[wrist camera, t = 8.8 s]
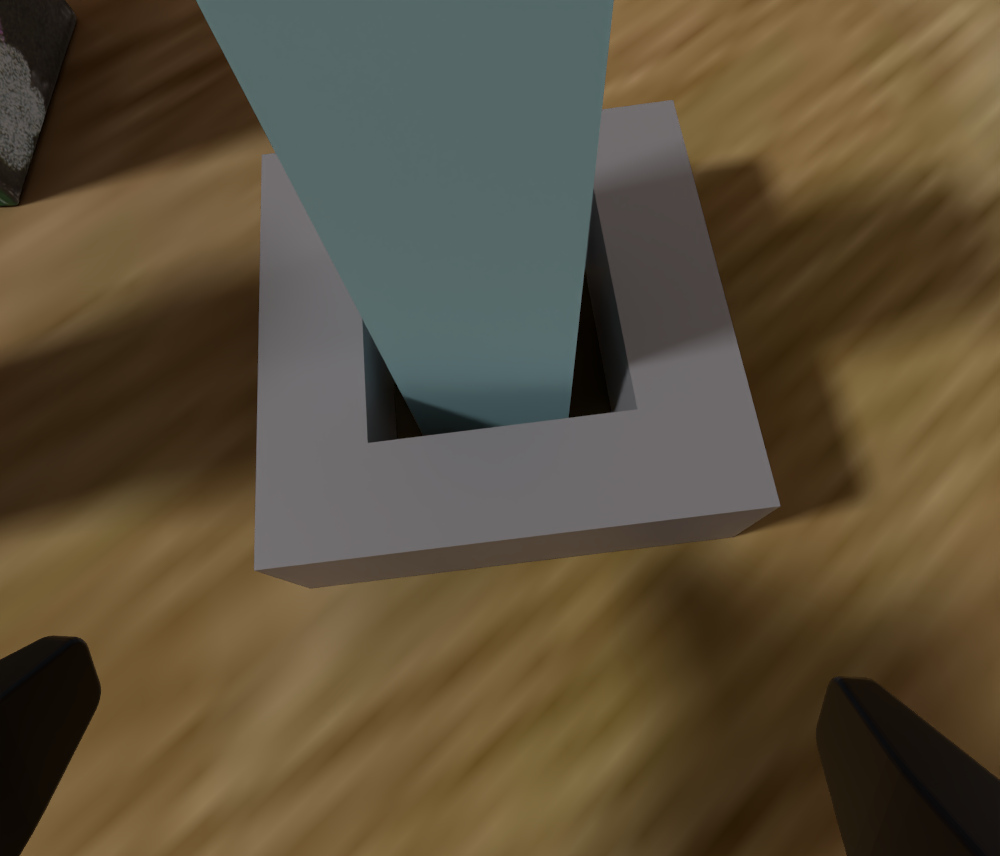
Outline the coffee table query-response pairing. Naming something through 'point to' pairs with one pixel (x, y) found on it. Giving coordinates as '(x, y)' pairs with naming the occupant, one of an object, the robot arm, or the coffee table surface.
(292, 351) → the socket
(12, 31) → the chalk box
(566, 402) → the peg
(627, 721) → the coffee table surface
